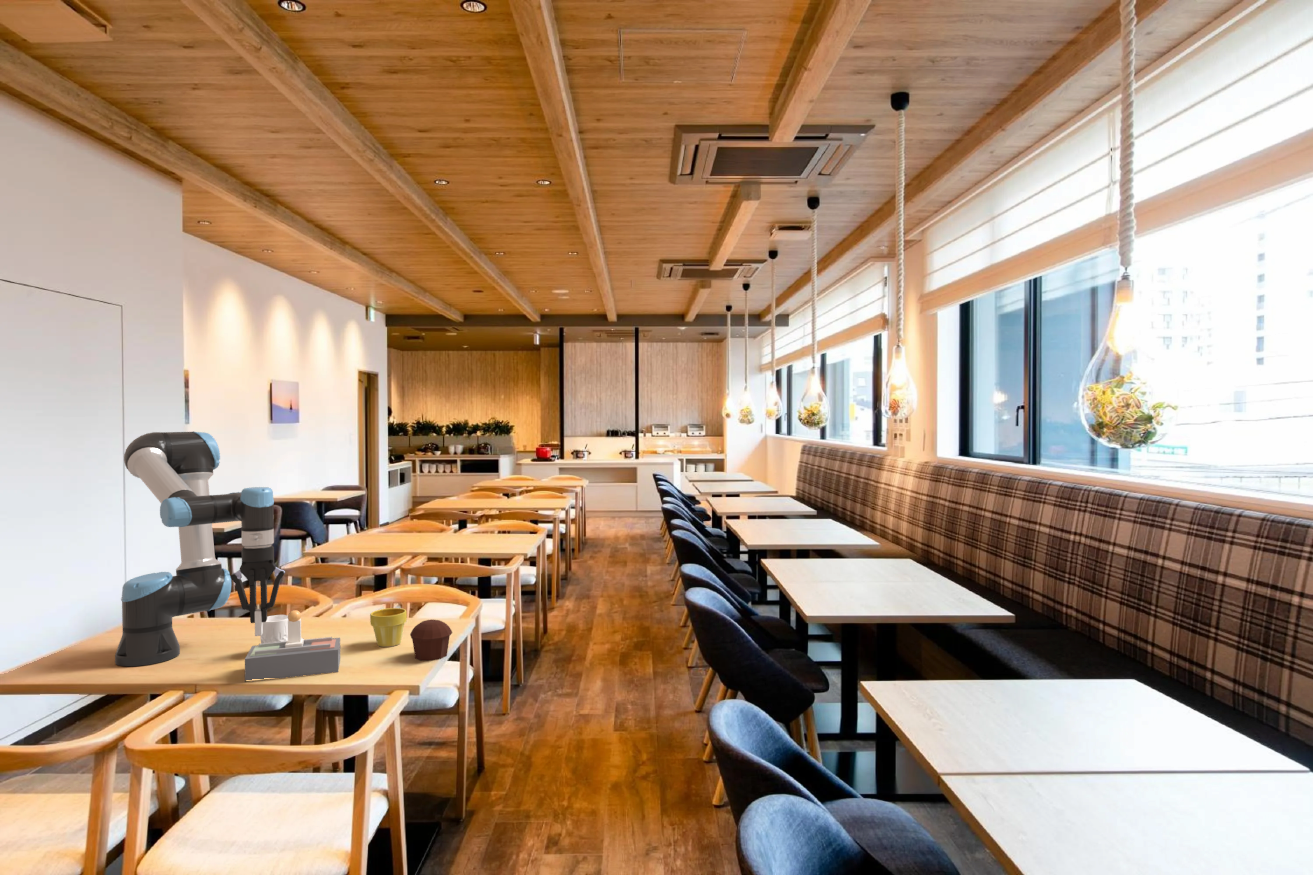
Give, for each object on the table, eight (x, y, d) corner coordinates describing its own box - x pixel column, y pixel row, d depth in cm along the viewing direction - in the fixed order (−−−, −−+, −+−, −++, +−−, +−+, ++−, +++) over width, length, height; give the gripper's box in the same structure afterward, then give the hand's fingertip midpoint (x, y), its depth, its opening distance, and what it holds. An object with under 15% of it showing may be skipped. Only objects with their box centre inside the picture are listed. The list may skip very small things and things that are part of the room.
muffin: (401, 659, 207) (401, 624, 207) (426, 648, 218) (426, 614, 217) (436, 664, 203) (436, 628, 203) (460, 652, 214) (460, 618, 213)
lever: (287, 644, 200) (287, 608, 200) (303, 642, 201) (303, 607, 201) (285, 649, 195) (285, 613, 195) (302, 647, 197) (301, 611, 196)
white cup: (295, 648, 217) (295, 615, 217) (279, 657, 209) (279, 622, 209) (270, 648, 218) (270, 614, 218) (253, 656, 210) (253, 621, 210)
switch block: (252, 667, 200) (252, 642, 200) (340, 658, 208) (340, 633, 208) (244, 682, 189) (244, 655, 189) (338, 671, 197) (337, 645, 197)
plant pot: (364, 644, 222) (363, 611, 221) (396, 637, 229) (396, 605, 229) (380, 651, 215) (380, 618, 214) (413, 643, 222) (413, 611, 222)
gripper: (227, 549, 189) (228, 640, 189) (283, 546, 194) (284, 635, 194) (232, 545, 196) (233, 633, 196) (286, 542, 201) (287, 628, 201)
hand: (258, 634), depth 195 cm, fingers closed
